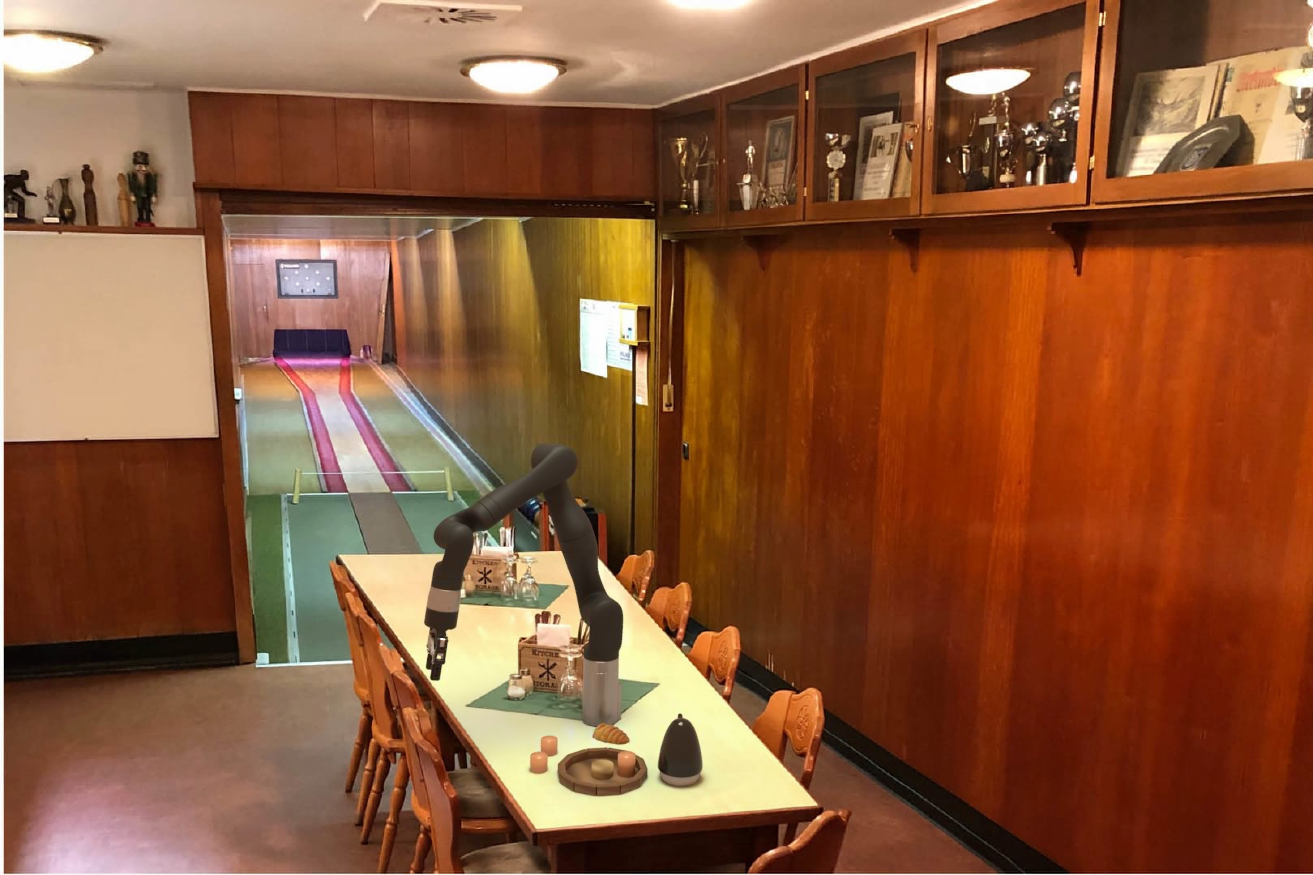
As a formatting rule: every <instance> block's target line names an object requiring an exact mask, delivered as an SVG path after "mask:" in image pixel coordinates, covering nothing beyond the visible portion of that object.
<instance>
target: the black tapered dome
mask: <svg viewBox="0 0 1313 875" xmlns="http://www.w3.org/2000/svg"><path fill="white" fill-rule="evenodd" d="M683 716H684V715H683V714H682V713H678V714H677V718H674V719H673V720H672V721H671V722H670V724H669V725H668V727H667V728H666V730H665V732H664V736H663V737H662V738H663V739H662V742H661V745H660V750H659V754H658V759H657V768H658V771H659V775H660V777H661V778H662V781H664V782H665V783H666V784H668V785H671V786H676V787H688V786H691V785H693V784H695V783H696V782H697V781H698V779H699V777H700V775H701V773H702V771H703V765H704V764H703V762H704V761H703V756H702V749H701V744H700V741H699V736H698V733H697V731H696V728H695V726H694V725H693V723H692V721H690V720H689V719H687V718H685V717H683Z"/></svg>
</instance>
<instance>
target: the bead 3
mask: <svg viewBox="0 0 1313 875" xmlns="http://www.w3.org/2000/svg"><path fill="white" fill-rule="evenodd" d="M635 754H636V753H635V752H633V751H631V750H626V751H622V752H620V753H618V775H619V776H621V777H632V776H634V775H635Z"/></svg>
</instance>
